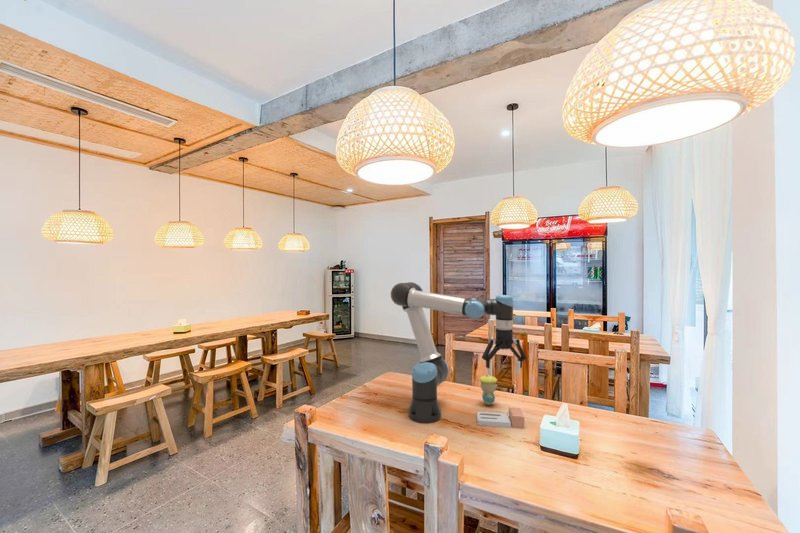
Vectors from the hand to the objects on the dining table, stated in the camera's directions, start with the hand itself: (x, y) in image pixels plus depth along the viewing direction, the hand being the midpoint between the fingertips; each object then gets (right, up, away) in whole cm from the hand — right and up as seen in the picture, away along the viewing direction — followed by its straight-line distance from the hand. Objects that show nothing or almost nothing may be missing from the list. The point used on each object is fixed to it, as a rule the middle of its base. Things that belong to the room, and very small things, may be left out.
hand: (503, 374), depth 147 cm
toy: (-3, -21, +15) cm, 26 cm away
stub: (+4, -20, -5) cm, 21 cm away
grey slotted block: (-6, -20, -3) cm, 21 cm away
